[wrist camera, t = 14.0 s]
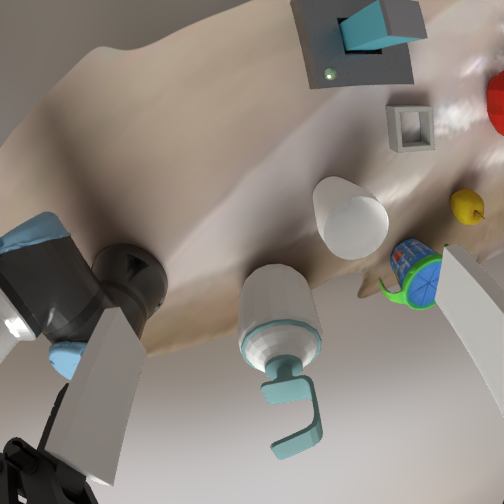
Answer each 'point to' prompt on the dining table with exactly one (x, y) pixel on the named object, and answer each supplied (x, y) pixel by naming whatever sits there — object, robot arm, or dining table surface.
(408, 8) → the plug
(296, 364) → the soap bottle
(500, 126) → the tomato
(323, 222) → the cup
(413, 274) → the snack cup
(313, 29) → the port
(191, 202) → the dining table surface
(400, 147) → the holster
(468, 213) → the apple
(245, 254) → the dining table surface
